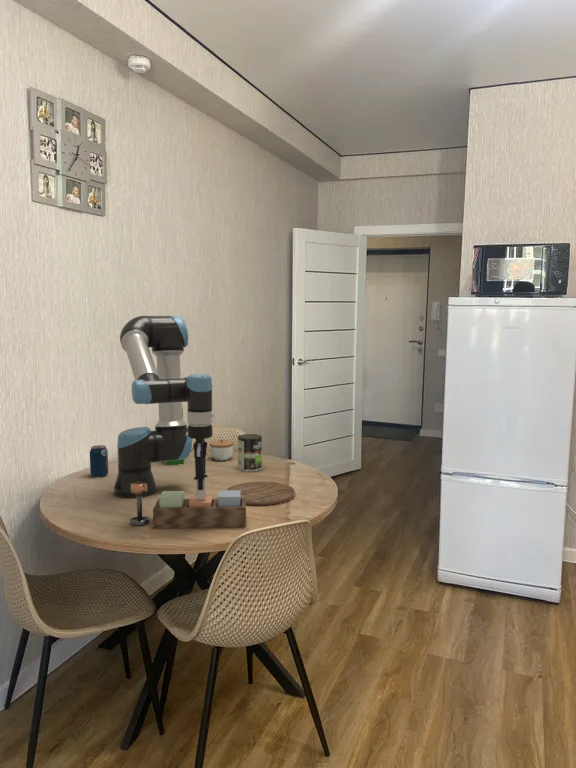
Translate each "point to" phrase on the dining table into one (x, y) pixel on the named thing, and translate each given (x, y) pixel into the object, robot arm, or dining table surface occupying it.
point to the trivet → (264, 493)
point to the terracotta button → (201, 502)
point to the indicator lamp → (139, 504)
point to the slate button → (229, 498)
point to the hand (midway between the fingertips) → (200, 498)
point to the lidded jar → (221, 449)
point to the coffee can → (249, 452)
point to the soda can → (98, 461)
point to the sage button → (171, 499)
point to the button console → (199, 516)
